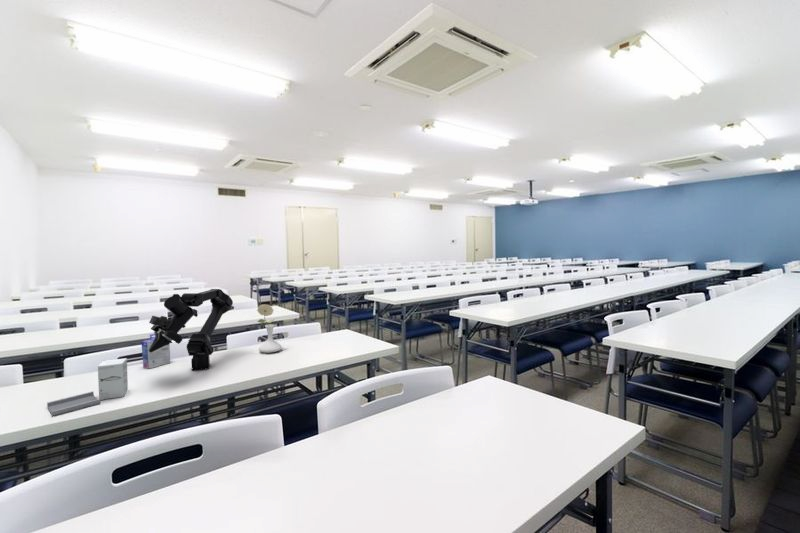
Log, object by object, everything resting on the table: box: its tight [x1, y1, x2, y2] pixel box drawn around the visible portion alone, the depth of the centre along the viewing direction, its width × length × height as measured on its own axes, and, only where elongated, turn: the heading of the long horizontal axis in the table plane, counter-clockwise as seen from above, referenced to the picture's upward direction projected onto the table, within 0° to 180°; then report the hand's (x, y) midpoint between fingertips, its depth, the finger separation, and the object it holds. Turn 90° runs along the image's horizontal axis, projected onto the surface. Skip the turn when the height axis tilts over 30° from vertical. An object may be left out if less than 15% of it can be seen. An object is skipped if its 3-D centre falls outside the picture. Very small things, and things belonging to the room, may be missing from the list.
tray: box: [46, 390, 101, 417], centre depth 121 cm, size 12×11×2 cm
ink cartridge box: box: [141, 333, 171, 370], centre depth 163 cm, size 10×6×14 cm, turn 153°
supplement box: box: [97, 357, 129, 401], centre depth 130 cm, size 7×7×13 cm
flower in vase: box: [256, 304, 283, 354], centre depth 184 cm, size 13×11×25 cm
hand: (149, 351), depth 138 cm, fingers closed
